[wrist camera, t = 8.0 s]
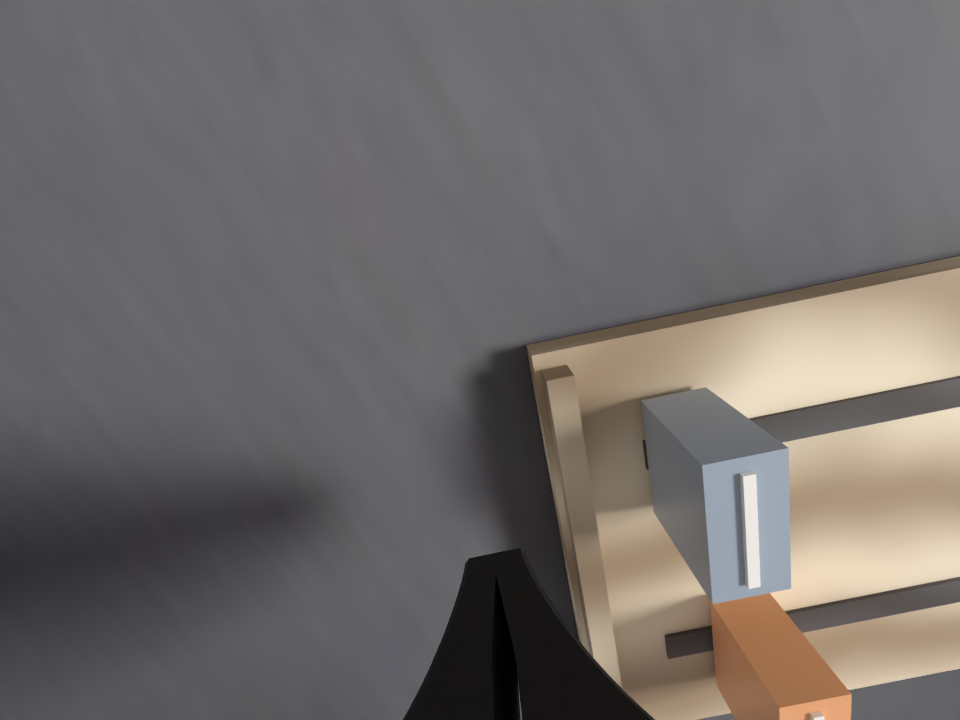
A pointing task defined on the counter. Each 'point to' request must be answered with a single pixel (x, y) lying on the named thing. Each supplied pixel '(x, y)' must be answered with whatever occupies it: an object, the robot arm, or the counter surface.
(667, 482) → the slate fader
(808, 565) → the birch console
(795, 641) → the terracotta fader
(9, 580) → the counter surface
